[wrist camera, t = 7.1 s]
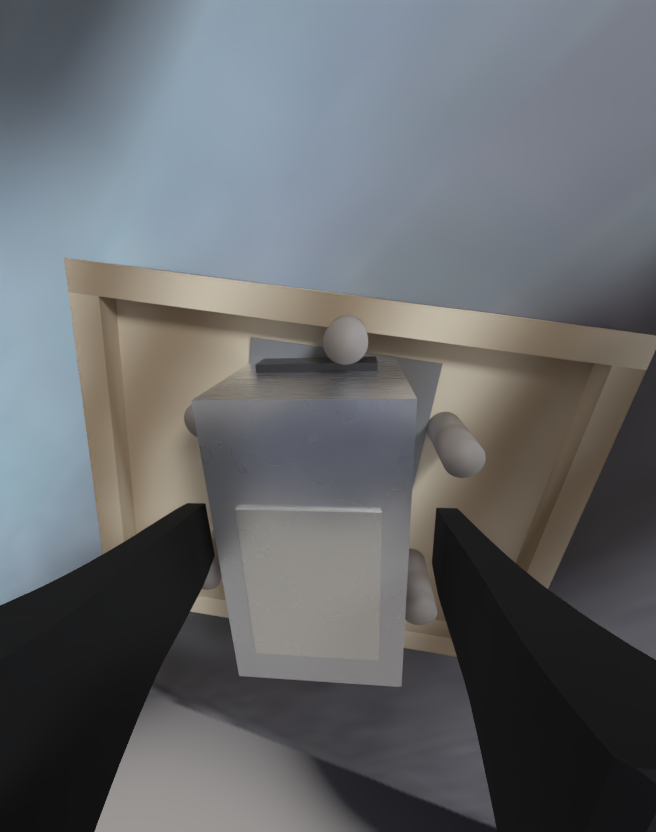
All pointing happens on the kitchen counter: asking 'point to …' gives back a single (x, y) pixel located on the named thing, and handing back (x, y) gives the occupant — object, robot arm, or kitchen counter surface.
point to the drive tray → (346, 344)
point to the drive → (312, 514)
